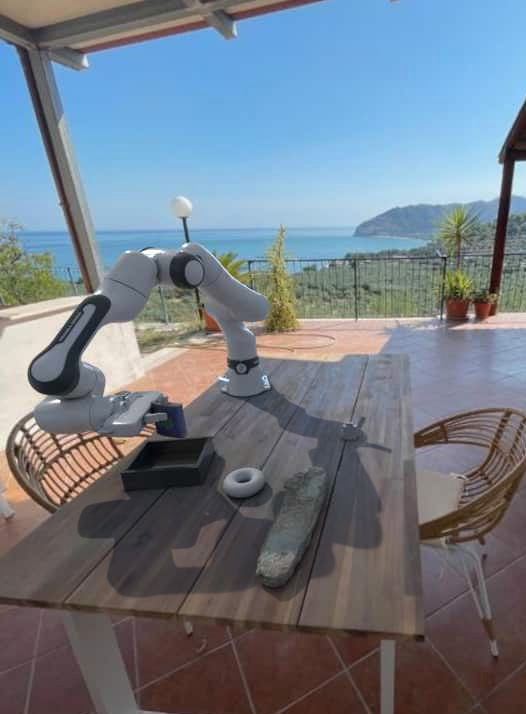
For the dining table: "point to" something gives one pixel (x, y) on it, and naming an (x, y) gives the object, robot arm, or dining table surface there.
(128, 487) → the tray
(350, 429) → the lighter
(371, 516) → the dining table surface
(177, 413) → the flask
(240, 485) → the donut
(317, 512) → the elongated rock
